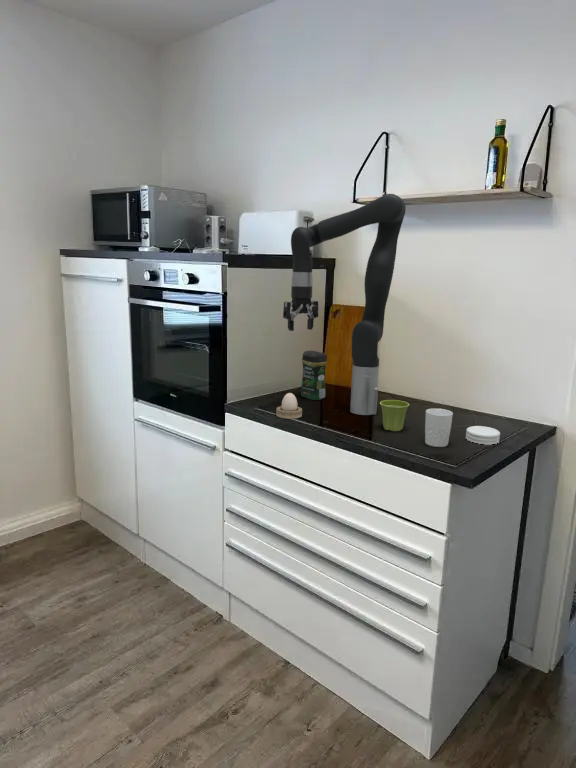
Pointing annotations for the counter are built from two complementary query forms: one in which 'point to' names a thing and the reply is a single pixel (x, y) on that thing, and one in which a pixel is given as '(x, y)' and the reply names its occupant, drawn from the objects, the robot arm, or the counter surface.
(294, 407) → the egg
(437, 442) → the white cup
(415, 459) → the counter surface
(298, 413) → the egg holder
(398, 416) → the plant pot
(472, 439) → the white jar lid
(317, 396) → the coffee jar
